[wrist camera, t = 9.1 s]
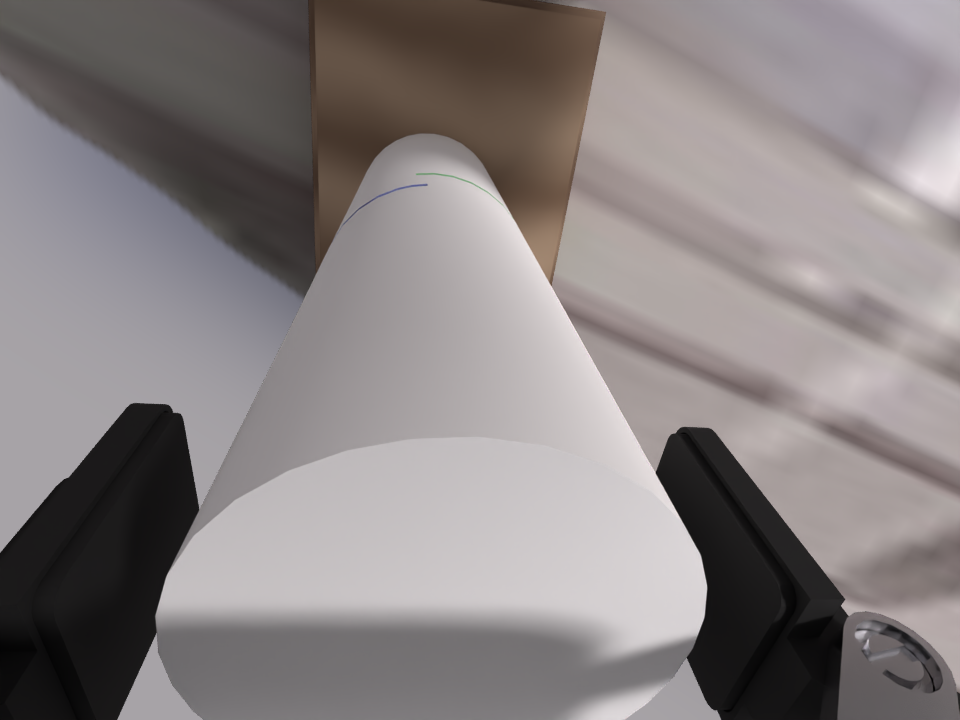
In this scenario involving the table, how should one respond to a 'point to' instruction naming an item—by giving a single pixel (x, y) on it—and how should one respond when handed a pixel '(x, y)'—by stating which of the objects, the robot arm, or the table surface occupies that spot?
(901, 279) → the table surface
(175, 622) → the cylindrical container
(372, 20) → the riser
